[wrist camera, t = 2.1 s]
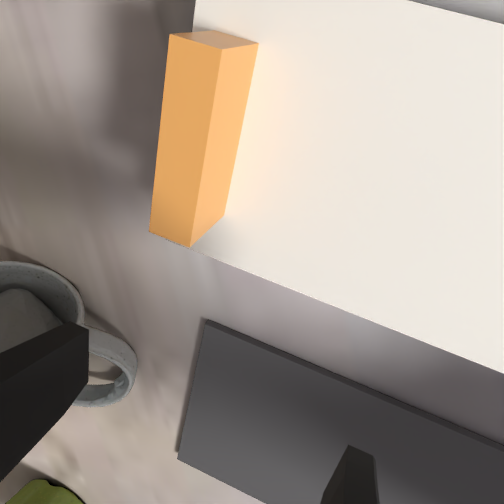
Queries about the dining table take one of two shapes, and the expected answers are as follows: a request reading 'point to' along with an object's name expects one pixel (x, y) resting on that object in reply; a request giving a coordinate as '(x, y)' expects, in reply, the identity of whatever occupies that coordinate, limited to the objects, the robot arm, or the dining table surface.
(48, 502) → the plant pot
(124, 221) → the dining table surface
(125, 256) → the dining table surface
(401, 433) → the mat
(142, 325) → the dining table surface
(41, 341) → the robot arm
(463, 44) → the lid
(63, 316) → the ceramic mug
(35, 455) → the dining table surface
